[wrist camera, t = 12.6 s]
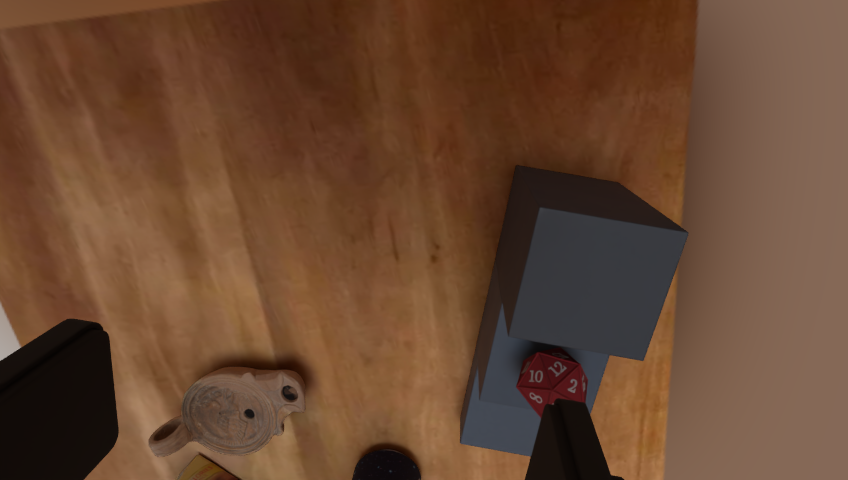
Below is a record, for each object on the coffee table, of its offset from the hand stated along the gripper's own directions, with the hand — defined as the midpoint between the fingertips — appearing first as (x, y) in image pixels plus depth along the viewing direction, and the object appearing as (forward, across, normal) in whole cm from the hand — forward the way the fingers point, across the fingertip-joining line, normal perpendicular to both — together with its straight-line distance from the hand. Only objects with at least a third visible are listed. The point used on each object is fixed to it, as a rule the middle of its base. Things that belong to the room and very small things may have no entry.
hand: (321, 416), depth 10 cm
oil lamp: (+25, +12, +21) cm, 35 cm away
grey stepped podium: (+25, -9, +9) cm, 28 cm away
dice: (+18, -10, +9) cm, 22 cm away
